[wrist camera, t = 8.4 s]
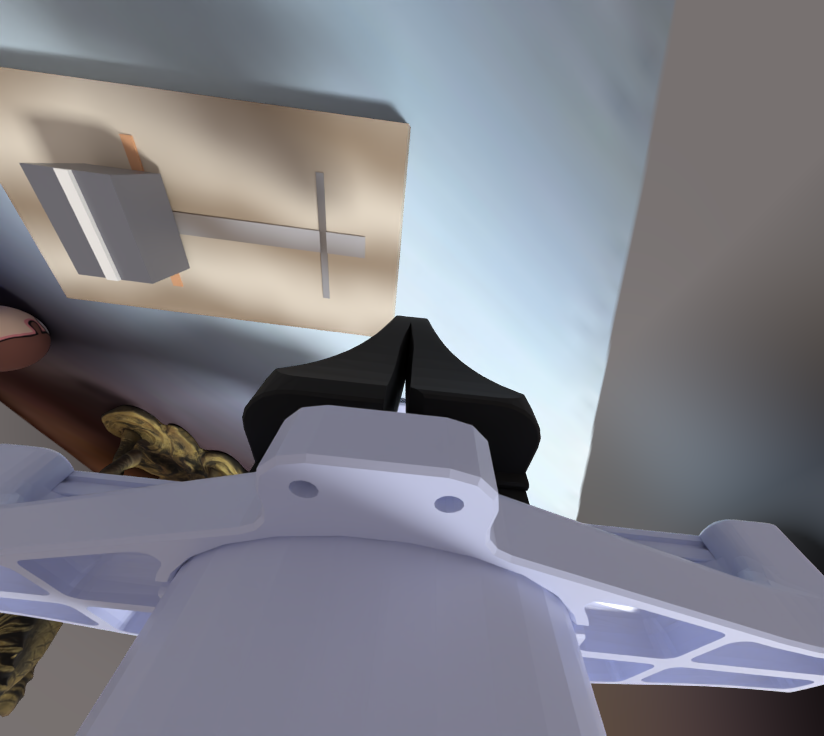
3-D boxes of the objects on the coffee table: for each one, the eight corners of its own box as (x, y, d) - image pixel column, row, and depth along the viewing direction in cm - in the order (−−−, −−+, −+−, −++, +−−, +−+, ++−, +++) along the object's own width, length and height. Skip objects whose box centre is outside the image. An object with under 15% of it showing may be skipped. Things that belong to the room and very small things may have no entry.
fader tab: (190, 268, 18) (149, 285, 16) (126, 260, 18) (74, 275, 16) (160, 173, 16) (105, 174, 13) (84, 163, 16) (13, 162, 13)
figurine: (169, 390, 27) (-243, 742, 11) (306, 527, 40) (217, 781, 24) (75, 417, 30) (-366, 727, 14) (230, 537, 43) (103, 769, 27)
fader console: (393, 329, 22) (391, 339, 21) (87, 290, 22) (65, 298, 21) (410, 127, 16) (408, 123, 14) (-32, 65, 15) (-76, 56, 14)
